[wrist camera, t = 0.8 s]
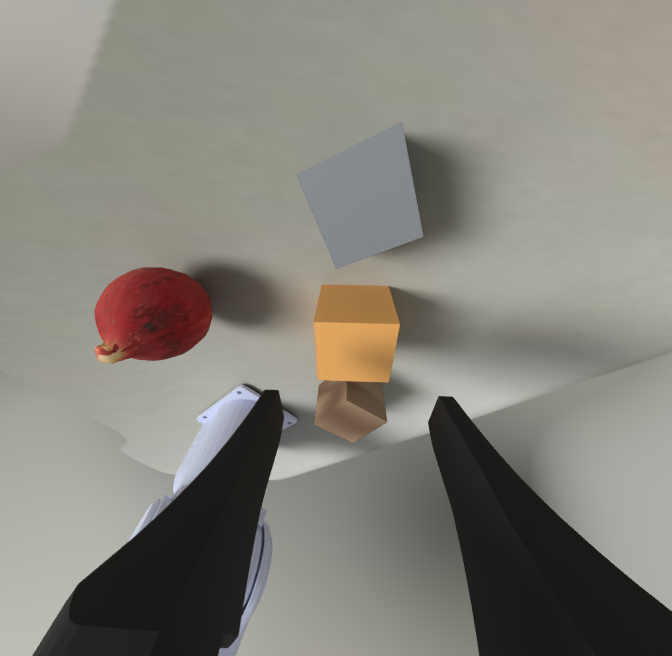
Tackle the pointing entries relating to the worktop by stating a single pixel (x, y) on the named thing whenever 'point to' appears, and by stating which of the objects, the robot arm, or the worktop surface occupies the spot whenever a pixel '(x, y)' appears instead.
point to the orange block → (355, 333)
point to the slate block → (364, 198)
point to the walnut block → (350, 408)
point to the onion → (151, 315)
